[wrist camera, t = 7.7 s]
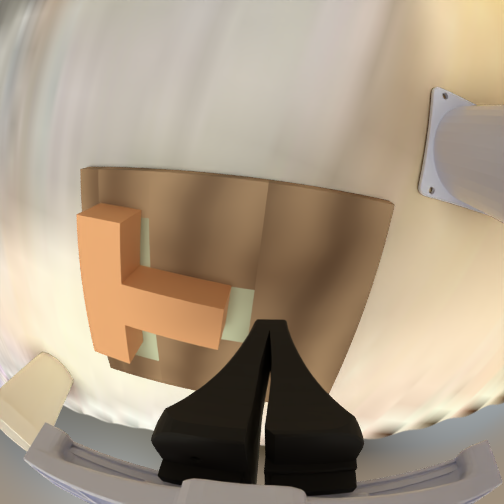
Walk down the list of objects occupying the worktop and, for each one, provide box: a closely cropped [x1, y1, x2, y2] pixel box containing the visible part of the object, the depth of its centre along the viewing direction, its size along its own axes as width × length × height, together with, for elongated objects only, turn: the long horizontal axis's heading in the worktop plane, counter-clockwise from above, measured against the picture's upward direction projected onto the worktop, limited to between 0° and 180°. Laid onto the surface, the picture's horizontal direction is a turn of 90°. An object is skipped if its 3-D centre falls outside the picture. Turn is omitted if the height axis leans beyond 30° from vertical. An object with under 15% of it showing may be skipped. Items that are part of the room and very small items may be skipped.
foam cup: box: [0, 352, 73, 451], centre depth 24 cm, size 10×9×13 cm
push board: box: [81, 167, 394, 402], centre depth 22 cm, size 22×20×1 cm
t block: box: [77, 203, 231, 364], centre depth 19 cm, size 10×12×3 cm
